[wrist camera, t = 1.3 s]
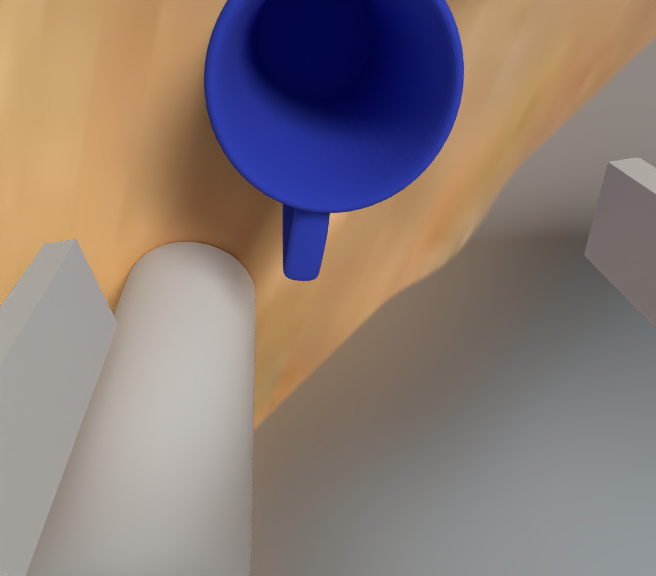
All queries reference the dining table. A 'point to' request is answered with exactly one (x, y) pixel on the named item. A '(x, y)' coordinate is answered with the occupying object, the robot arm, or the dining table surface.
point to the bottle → (165, 430)
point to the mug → (331, 104)
